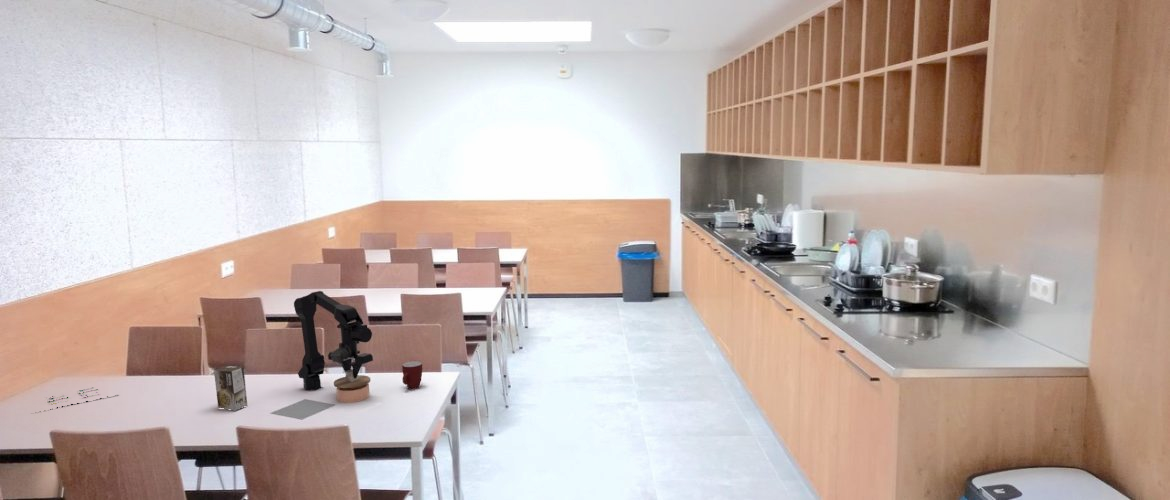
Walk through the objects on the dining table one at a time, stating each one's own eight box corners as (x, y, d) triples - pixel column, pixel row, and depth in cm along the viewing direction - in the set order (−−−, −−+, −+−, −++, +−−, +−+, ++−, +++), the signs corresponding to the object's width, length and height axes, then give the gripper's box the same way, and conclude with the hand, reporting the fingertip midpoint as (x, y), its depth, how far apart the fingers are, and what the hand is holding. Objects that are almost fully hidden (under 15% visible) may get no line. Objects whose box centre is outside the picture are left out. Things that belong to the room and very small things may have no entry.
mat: (269, 415, 281) (269, 413, 281) (305, 401, 296) (305, 399, 296) (302, 422, 273) (301, 419, 273) (336, 407, 288) (336, 404, 288)
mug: (415, 392, 303) (413, 369, 301) (397, 391, 304) (395, 368, 303) (426, 384, 313) (425, 361, 311) (409, 383, 315) (407, 361, 313)
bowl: (331, 402, 294) (330, 388, 294) (353, 392, 305) (352, 379, 304) (353, 406, 289) (352, 392, 288) (375, 396, 299) (374, 383, 299)
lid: (326, 385, 293) (325, 373, 292) (351, 375, 305) (351, 364, 305) (352, 390, 287) (351, 377, 286) (377, 379, 299) (377, 367, 298)
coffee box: (248, 406, 293) (244, 366, 291) (235, 411, 287) (231, 371, 285) (230, 404, 296) (226, 364, 294) (217, 409, 290) (213, 369, 288)
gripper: (316, 342, 291) (319, 380, 293) (351, 346, 282) (354, 386, 284) (337, 335, 301) (340, 372, 303) (372, 339, 292) (375, 378, 294)
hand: (351, 377), depth 296 cm, fingers closed on lid, 3 cm apart
